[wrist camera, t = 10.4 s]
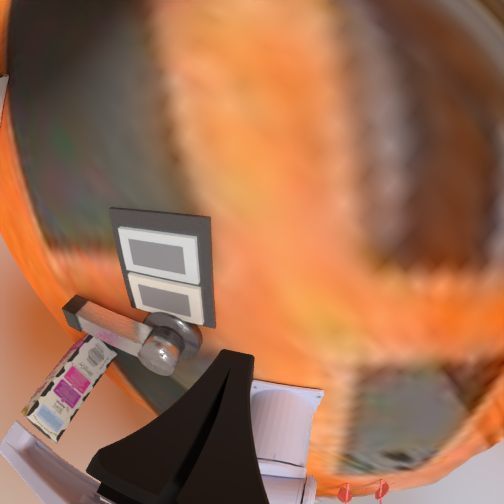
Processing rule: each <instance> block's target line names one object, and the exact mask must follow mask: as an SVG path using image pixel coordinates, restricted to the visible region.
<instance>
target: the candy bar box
mask: <svg viewBox="0 0 504 504" xmlns="http://www.w3.org/2000/svg"><path fill="white" fill-rule="evenodd" d="M116 356H117V352H116V351H115V350H114V349H113V348H112V347H111V346H110V345H109V344H108V343H106V342H104V341H102V340H100V339H98V338H96V337H94V336H92V335H90V334H87V335H86V336H85V337H84V338H82V339H81V340H79V341H78V342H77V343H75V344H74V345H73V346H72V347H71V348H70V350H69V351H68V352H67V353H66V354H65V356H64V357H63V358H62V359H61V360H60V362H59V363H58V364H57V365H56V367H55V368H54V369H53V371H52V372H51V373H50V374H49V376H48V377H47V378H46V379H45V381H44V382H43V383H42V385H41V386H40V387H39V388H38V389H37V391H36V392H35V394H34V395H33V396H32V397H31V399H30V401H29V402H28V403H27V404H26V406H25V407H24V409H23V410H22V411H21V412H22V414H23V415H24V416H25V417H26V418H27V420H28V421H29V422H31V424H32V425H34V426H35V427H36V428H37V429H38V430H39V431H41V432H42V433H43V434H44V435H45V436H47V437H48V438H49V439H50V440H52V441H53V442H55V443H57V442H58V440H59V439H60V437H61V435H62V434H63V432H64V431H65V429H66V428H67V426H68V425H69V423H70V422H71V420H72V418H73V417H74V415H75V414H76V412H77V411H78V410H79V408H80V407H81V405H82V404H83V402H84V401H85V399H86V398H87V396H88V395H89V393H90V392H91V390H92V389H93V388H94V386H95V385H96V383H97V382H98V380H99V379H100V378H101V376H102V374H103V373H104V372H105V371H106V369H107V368H108V366H109V365H110V364H111V362H112V361H113V359H114V358H115V357H116Z"/></svg>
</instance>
